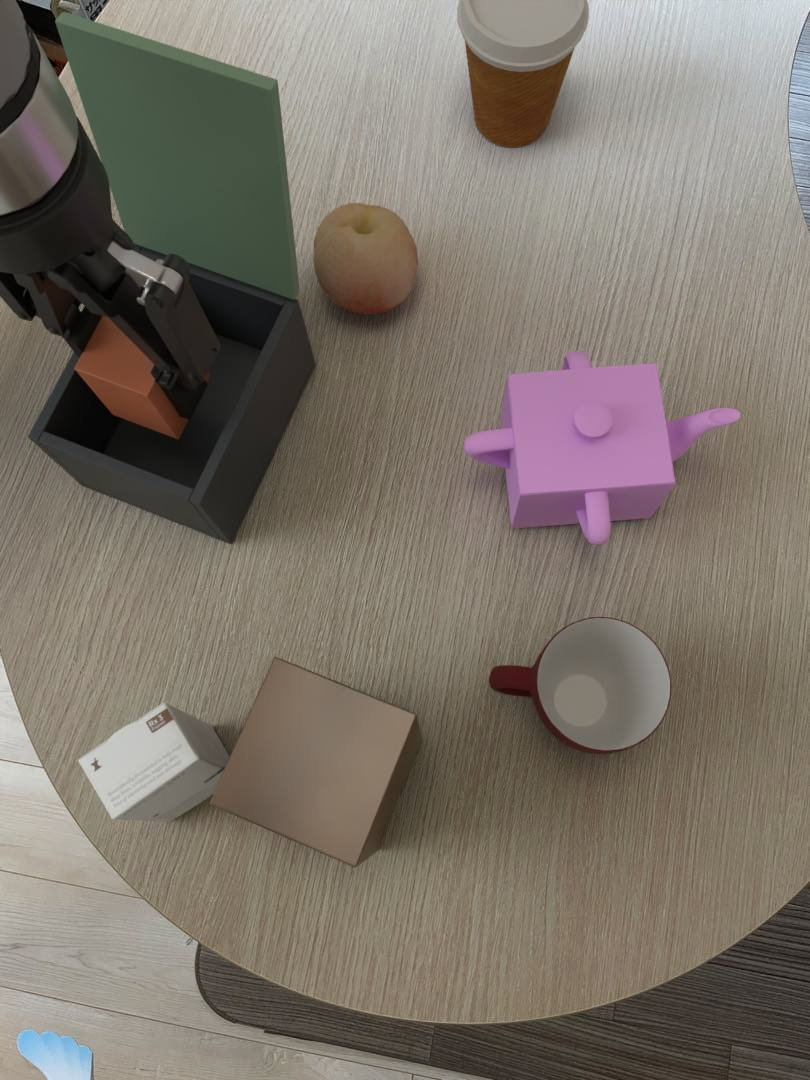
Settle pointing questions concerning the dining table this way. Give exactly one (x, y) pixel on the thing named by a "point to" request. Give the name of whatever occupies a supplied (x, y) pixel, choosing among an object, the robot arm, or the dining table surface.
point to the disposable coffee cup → (518, 62)
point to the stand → (319, 763)
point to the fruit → (365, 258)
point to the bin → (194, 415)
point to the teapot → (588, 444)
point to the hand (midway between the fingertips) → (154, 385)
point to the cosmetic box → (156, 766)
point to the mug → (594, 685)
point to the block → (127, 381)
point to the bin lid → (188, 152)
